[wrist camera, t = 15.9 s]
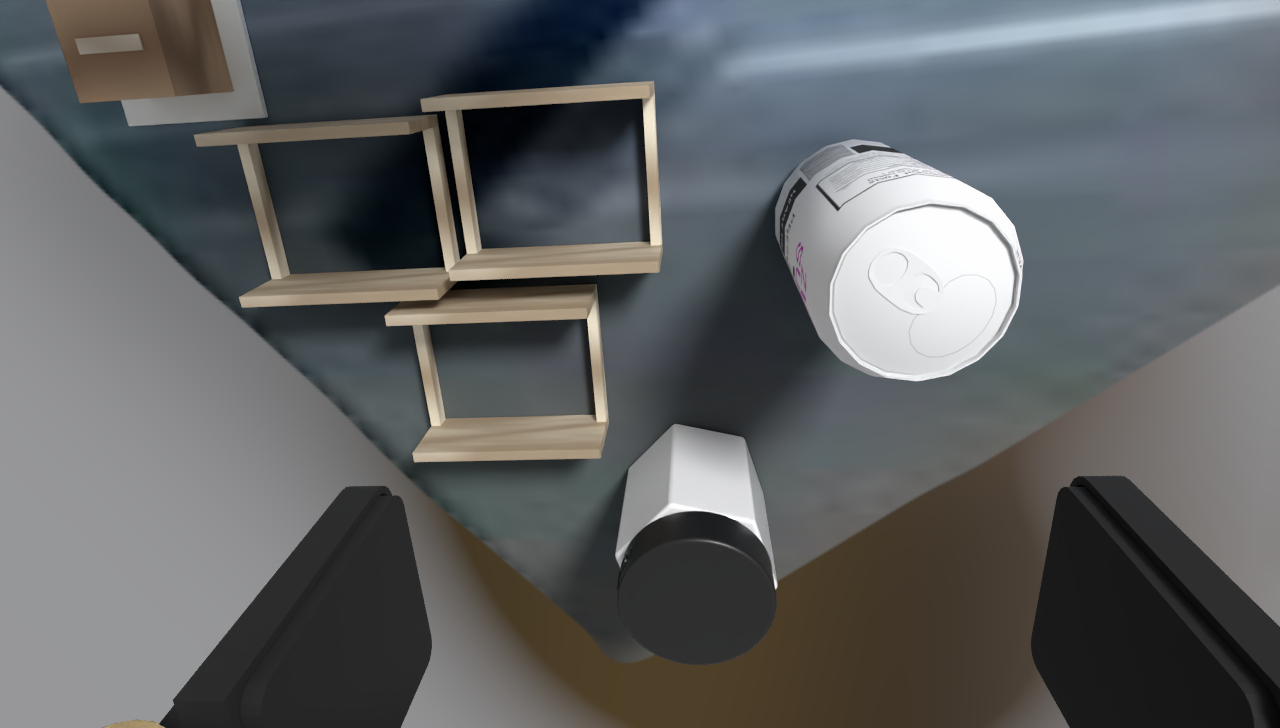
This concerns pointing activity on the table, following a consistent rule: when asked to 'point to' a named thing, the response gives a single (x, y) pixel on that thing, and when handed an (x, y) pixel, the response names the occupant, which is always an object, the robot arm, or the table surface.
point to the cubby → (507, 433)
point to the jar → (695, 549)
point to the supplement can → (897, 260)
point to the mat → (215, 105)
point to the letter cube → (140, 48)
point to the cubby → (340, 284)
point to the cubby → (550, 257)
